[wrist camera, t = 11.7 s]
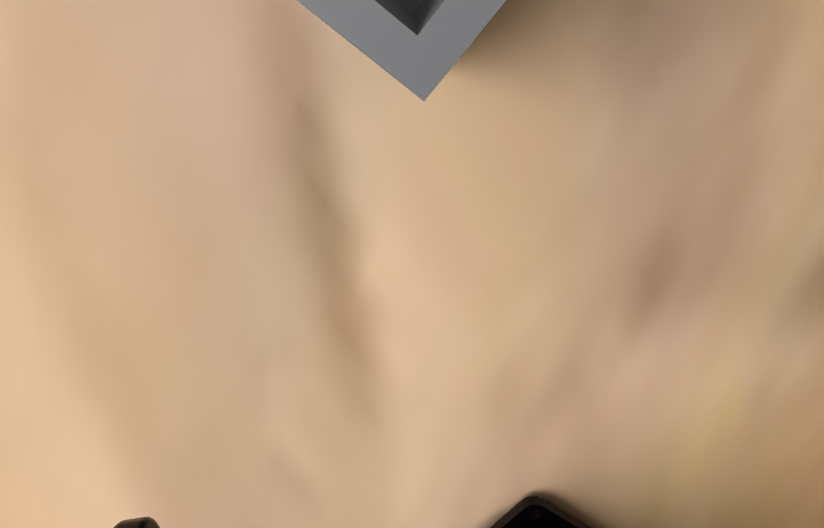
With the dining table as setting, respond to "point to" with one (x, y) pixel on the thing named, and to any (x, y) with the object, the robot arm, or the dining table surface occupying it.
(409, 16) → the box
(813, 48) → the dining table surface
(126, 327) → the dining table surface
